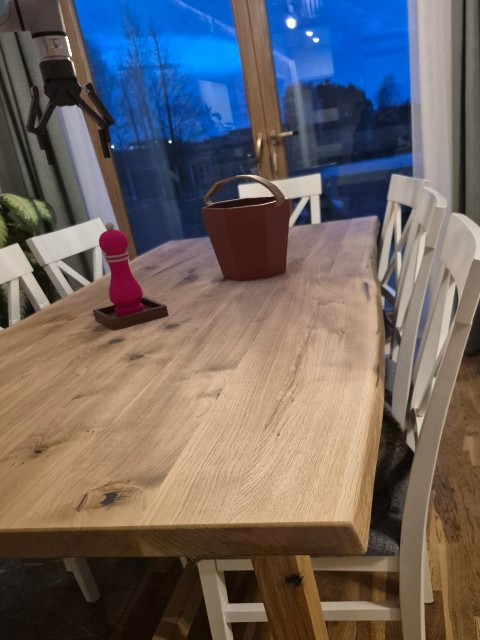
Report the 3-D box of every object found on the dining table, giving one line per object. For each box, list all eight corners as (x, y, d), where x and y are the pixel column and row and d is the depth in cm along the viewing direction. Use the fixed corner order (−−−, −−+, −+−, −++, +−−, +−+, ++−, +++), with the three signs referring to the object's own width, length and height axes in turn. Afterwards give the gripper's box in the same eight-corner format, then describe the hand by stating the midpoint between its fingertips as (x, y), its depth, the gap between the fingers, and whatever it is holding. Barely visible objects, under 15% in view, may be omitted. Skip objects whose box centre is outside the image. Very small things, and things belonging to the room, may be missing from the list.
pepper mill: (138, 307, 134) (118, 218, 126) (152, 312, 129) (132, 220, 121) (109, 315, 130) (85, 224, 122) (122, 321, 125) (99, 226, 117)
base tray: (95, 319, 132) (92, 310, 131) (147, 306, 138) (144, 296, 137) (113, 330, 122) (111, 320, 121) (168, 315, 128) (166, 305, 127)
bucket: (198, 277, 161) (181, 182, 151) (260, 259, 174) (248, 171, 163) (251, 287, 144) (235, 180, 133) (315, 267, 156) (306, 168, 146)
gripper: (0, 60, 122) (30, 167, 131) (114, 56, 134) (134, 154, 143) (-7, 65, 128) (23, 168, 137) (103, 61, 140) (124, 155, 149)
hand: (80, 161), depth 140 cm, fingers open, 13 cm apart
